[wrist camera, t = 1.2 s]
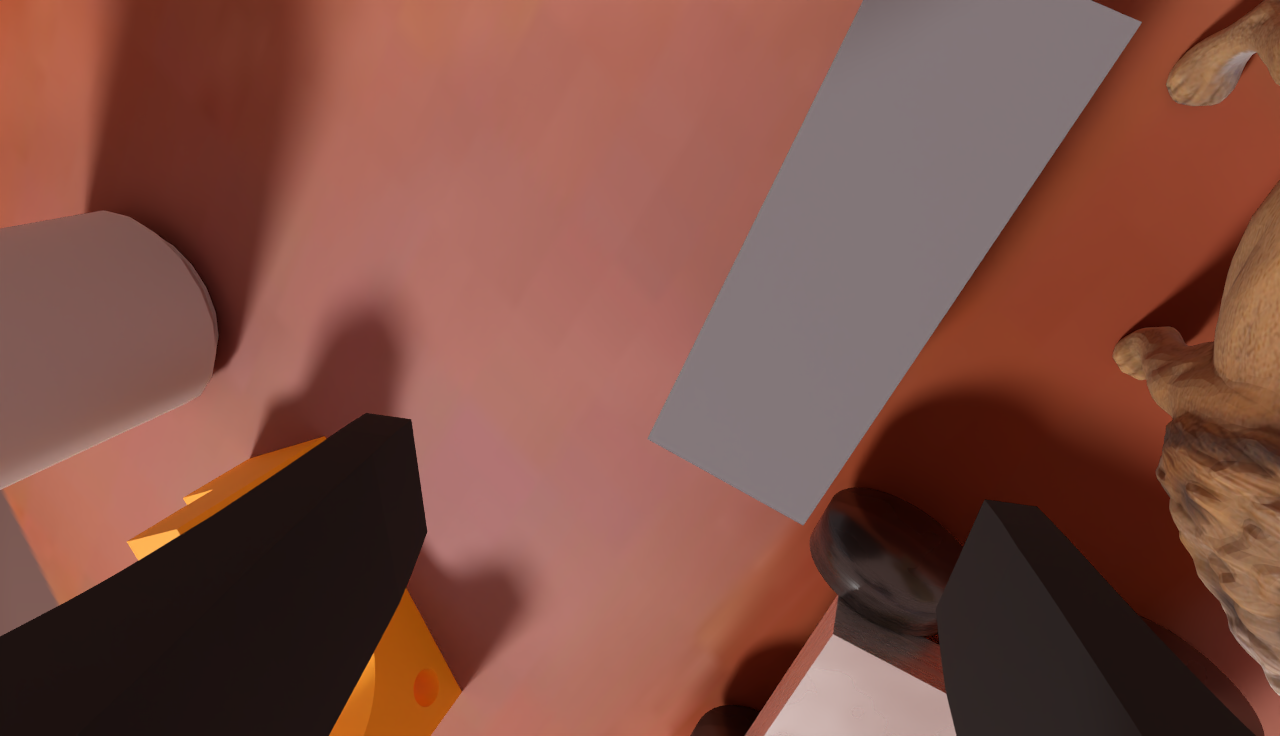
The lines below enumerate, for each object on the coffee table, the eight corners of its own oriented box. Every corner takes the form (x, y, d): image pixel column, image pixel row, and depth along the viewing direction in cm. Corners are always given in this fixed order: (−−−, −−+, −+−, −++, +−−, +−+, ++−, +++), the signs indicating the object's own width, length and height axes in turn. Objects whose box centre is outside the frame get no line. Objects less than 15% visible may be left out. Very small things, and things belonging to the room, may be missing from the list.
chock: (1076, 34, 16) (1141, 23, 11) (825, 428, 21) (803, 525, 16) (904, -41, 16) (902, -82, 12) (701, 362, 21) (647, 438, 17)
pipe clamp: (253, 456, 29) (95, 549, 23) (328, 433, 27) (176, 529, 22) (387, 694, 32) (275, 829, 26) (463, 689, 30) (361, 832, 24)
